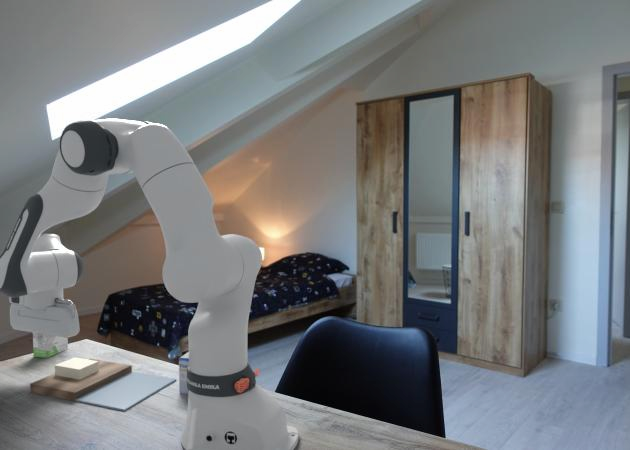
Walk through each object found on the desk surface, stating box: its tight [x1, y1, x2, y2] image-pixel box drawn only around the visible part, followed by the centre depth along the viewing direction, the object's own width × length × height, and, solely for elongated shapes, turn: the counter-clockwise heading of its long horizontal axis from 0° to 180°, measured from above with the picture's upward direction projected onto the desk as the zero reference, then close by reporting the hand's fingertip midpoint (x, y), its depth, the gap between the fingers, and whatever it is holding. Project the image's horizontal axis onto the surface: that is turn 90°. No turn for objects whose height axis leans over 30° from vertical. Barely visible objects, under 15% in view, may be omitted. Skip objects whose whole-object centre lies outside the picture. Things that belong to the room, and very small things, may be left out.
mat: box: [74, 370, 177, 412], centre depth 114 cm, size 14×18×1 cm
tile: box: [54, 356, 99, 380], centre depth 119 cm, size 8×6×2 cm
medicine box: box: [178, 351, 189, 395], centre depth 115 cm, size 8×4×9 cm, turn 168°
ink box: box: [32, 332, 69, 359], centre depth 140 cm, size 9×5×15 cm, turn 168°
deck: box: [29, 358, 133, 402], centre depth 119 cm, size 14×18×2 cm
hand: (45, 349), depth 123 cm, fingers closed
